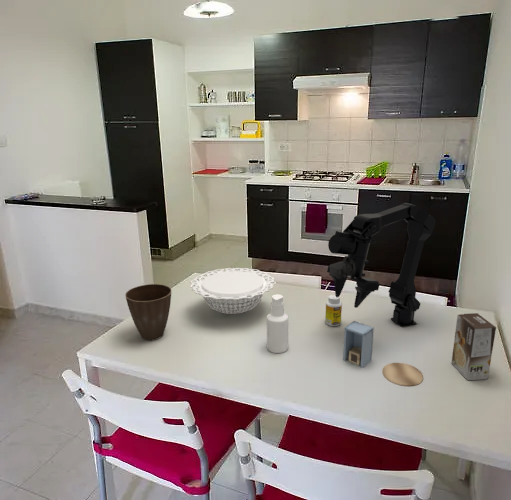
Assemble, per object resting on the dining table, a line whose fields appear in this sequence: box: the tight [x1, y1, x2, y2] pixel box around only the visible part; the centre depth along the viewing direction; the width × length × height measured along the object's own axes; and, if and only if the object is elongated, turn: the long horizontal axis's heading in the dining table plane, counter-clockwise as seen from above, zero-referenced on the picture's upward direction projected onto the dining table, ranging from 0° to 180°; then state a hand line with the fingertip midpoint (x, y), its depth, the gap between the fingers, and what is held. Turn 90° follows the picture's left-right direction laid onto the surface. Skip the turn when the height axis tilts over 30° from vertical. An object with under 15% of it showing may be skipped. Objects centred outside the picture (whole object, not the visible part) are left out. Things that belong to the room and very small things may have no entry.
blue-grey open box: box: [342, 320, 375, 368], centre depth 126 cm, size 6×6×11 cm
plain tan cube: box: [348, 347, 362, 366], centre depth 127 cm, size 4×4×4 cm
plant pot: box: [124, 283, 172, 341], centre depth 142 cm, size 15×15×16 cm
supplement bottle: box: [324, 294, 343, 327], centre depth 149 cm, size 6×6×10 cm
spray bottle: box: [266, 293, 289, 354], centre depth 132 cm, size 7×7×18 cm
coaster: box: [381, 362, 424, 387], centre depth 120 cm, size 11×11×1 cm
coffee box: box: [451, 312, 497, 381], centre depth 119 cm, size 9×6×16 cm
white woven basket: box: [189, 267, 277, 315], centre depth 158 cm, size 32×32×13 cm
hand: (346, 302), depth 135 cm, fingers open, 9 cm apart
